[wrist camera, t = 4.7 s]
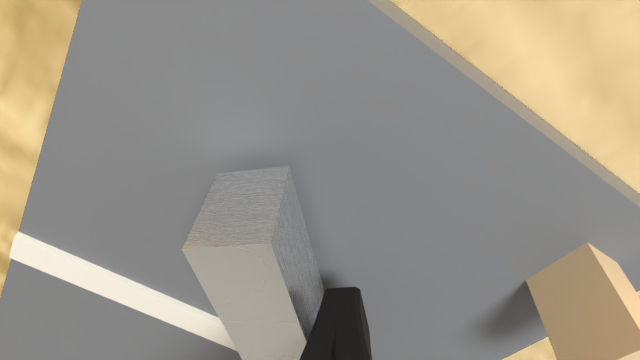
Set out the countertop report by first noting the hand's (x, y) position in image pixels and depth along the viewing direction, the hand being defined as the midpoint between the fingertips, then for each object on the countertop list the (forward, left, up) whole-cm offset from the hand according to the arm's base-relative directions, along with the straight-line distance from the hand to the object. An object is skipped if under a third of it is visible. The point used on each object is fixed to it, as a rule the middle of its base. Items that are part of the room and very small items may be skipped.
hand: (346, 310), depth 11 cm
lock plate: (+1, +6, -3) cm, 7 cm away
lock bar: (0, +3, -1) cm, 3 cm away
